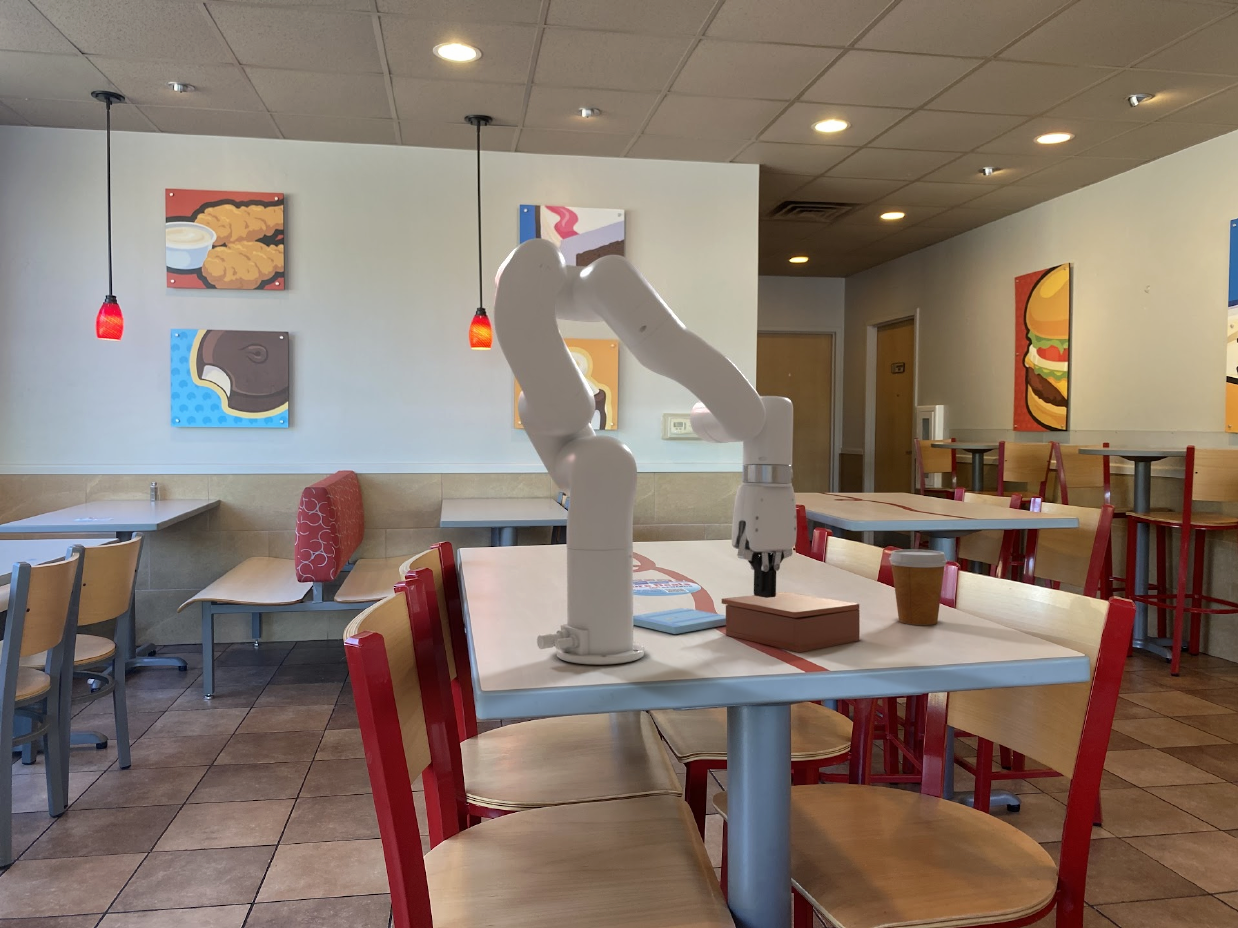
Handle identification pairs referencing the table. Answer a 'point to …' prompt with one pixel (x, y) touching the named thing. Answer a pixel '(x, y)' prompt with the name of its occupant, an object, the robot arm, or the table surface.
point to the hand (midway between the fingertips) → (764, 596)
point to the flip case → (793, 628)
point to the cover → (791, 604)
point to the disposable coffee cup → (918, 584)
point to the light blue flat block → (679, 620)
